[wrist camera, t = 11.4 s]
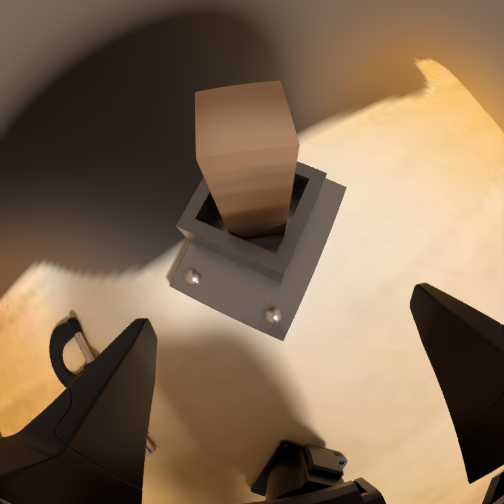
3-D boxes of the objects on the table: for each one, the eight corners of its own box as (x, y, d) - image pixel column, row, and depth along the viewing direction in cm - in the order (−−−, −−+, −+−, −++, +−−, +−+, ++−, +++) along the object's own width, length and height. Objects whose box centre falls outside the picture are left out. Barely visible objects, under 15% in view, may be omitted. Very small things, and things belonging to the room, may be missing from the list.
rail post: (283, 238, 22) (299, 145, 10) (234, 245, 22) (196, 159, 10) (276, 193, 23) (280, 80, 11) (229, 199, 23) (195, 92, 11)
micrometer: (44, 342, 22) (29, 342, 20) (82, 310, 23) (66, 308, 21) (115, 464, 19) (104, 473, 17) (163, 444, 20) (153, 455, 17)
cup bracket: (282, 340, 21) (286, 345, 16) (173, 287, 23) (149, 278, 18) (343, 192, 24) (359, 163, 19) (244, 153, 25) (239, 120, 21)
